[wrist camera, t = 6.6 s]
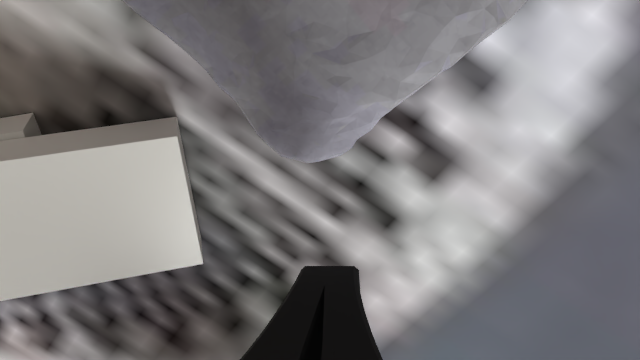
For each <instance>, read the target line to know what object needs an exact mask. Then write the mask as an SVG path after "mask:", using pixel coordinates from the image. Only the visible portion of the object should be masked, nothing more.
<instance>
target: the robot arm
mask: <svg viewBox="0 0 640 360" xmlns="http://www.w3.org/2000/svg"><path fill="white" fill-rule="evenodd" d="M240 360H383V359H382V357H381V355H380V352H379V350H378V347H377V345H376V343H375V340H374V337H373V335H372V332H371V329H370V326H369V323H368V320H367V317H366V314H365V311H364V307H363V303H362V299H361V294H360V282H359V270H358V269H357V268H356V267H354V266H305V267H304V268H303V269H302V270H301V272H300V273H299V275H298V277H297V279H296V281H295V283H294V284H293V286H292V288H291V290H290V291H289V293H288V295H287V296H286V298H285V299H284V301H283V303H282V304H281V306H280V307H279V309H278V310H277V312H276V313H275V314H274V316H273V317H272V319H271V320H270V322H269V323H268V325H267V326H266V327H265V329H264V330H263V331H262V333H261V334H260V335H259V337H258V338H257V339H256V340H255V342H254V343H253V344H252V346H251V347H250V348H249V350H248V351H247V352H246V353H245V354H244V356H243V357H242V358H241V359H240Z"/></svg>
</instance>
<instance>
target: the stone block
mask: <svg viewBox="0 0 640 360" xmlns="http://www.w3.org/2000/svg"><path fill="white" fill-rule="evenodd" d="M122 1H123V2H124V3H126V4H127V5H128V6H129V7H130V8H131V9H133V10H134V11H135V12H136V13H137V14H138V15H140V16H141V17H142V18H143V19H145V20H146V21H148V22H149V23H150V24H152V25H153V26H154V27H156V28H157V29H158V30H160V31H161V32H162V33H164V34H165V35H167V36H168V37H169V38H170V39H171V40H173V41H174V42H175V43H176V44H178V45H179V46H180V47H181V48H182V49H183V50H185V51H186V52H187V53H188V54H189V55H190V56H191V57H192V58H193V59H195V60H196V61H197V62H198V63H199V64H200V65H201V66H202V67H203V68H204V69H205V70H206V71H207V72H208V73H209V75H210V76H211V77H212V78H213V80H214V81H215V82H216V83H217V84H218V86H219V87H220V88H221V89H222V90H223V91H225V92H226V93H227V94H228V95H229V96H230V97H232V98H233V99H234V101H235V102H236V104H237V105H238V107H239V108H240V109H241V111H242V112H243V114H244V115H245V117H246V118H247V120H248V121H249V123H250V124H251V126H252V127H253V129H254V130H255V132H256V133H257V135H258V136H259V137H260V138H261V139H262V140H263V141H264V142H265V143H266V144H267V145H269V146H270V147H271V148H272V149H273V150H274V151H276V152H277V153H278V154H279V155H280V156H281V157H286V158H290V159H295V160H298V161H301V162H305V163H312V162H319V161H322V160H326V159H330V158H333V157H337V156H340V155H342V154H344V153H345V152H347V151H348V150H349V149H351V148H352V147H353V145H354V143H355V141H356V140H357V139H358V138H360V137H361V136H363V135H364V134H366V133H367V132H369V131H371V129H372V128H373V127H374V126H375V124H376V123H377V122H378V121H379V120H380V118H381V117H383V116H384V115H385V114H387V113H388V112H389V111H391V110H392V109H393V108H394V107H396V106H397V105H398V104H400V103H401V102H402V101H404V100H405V99H407V98H408V97H409V96H411V95H412V94H414V93H415V92H416V91H418V90H419V89H420V88H421V87H423V86H424V85H425V84H426V83H428V82H429V81H430V80H432V79H433V78H434V77H436V76H437V75H439V74H440V73H441V72H443V71H445V70H446V69H448V68H450V67H452V66H453V65H454V64H455V63H456V62H457V61H458V60H460V59H461V58H462V57H463V56H464V55H465V54H467V53H468V52H469V51H470V50H471V49H472V48H474V47H475V46H476V45H477V44H479V43H480V42H481V41H483V40H484V39H485V38H487V37H488V36H489V35H491V34H492V33H494V32H495V31H496V30H498V29H499V28H500V27H502V26H503V25H504V24H506V23H507V22H509V21H510V19H511V18H512V17H513V16H514V15H515V14H516V13H517V12H518V10H519V9H520V8H521V7H522V6H523V5H524V4H525V3H526V1H527V0H122Z"/></svg>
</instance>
